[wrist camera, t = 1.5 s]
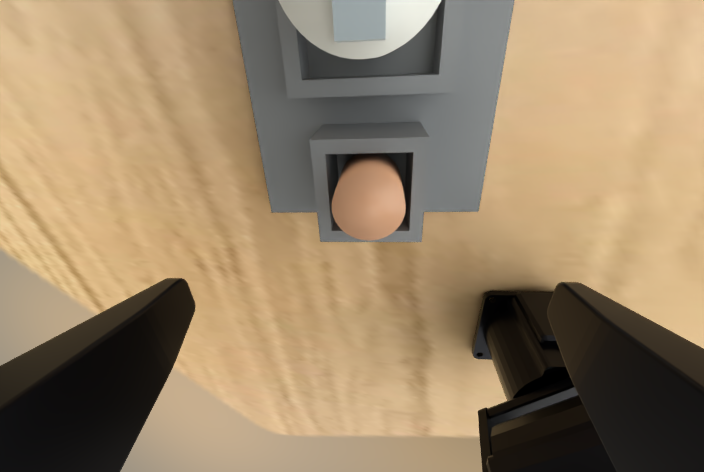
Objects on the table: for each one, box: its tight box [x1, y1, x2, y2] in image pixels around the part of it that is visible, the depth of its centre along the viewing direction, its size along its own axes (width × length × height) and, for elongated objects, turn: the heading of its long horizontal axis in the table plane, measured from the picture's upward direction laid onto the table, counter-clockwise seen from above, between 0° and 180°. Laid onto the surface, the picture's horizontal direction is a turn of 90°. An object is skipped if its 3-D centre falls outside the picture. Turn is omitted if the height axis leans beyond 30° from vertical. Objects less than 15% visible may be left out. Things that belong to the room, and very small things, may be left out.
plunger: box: [332, 153, 406, 241], centre depth 14 cm, size 3×3×3 cm
